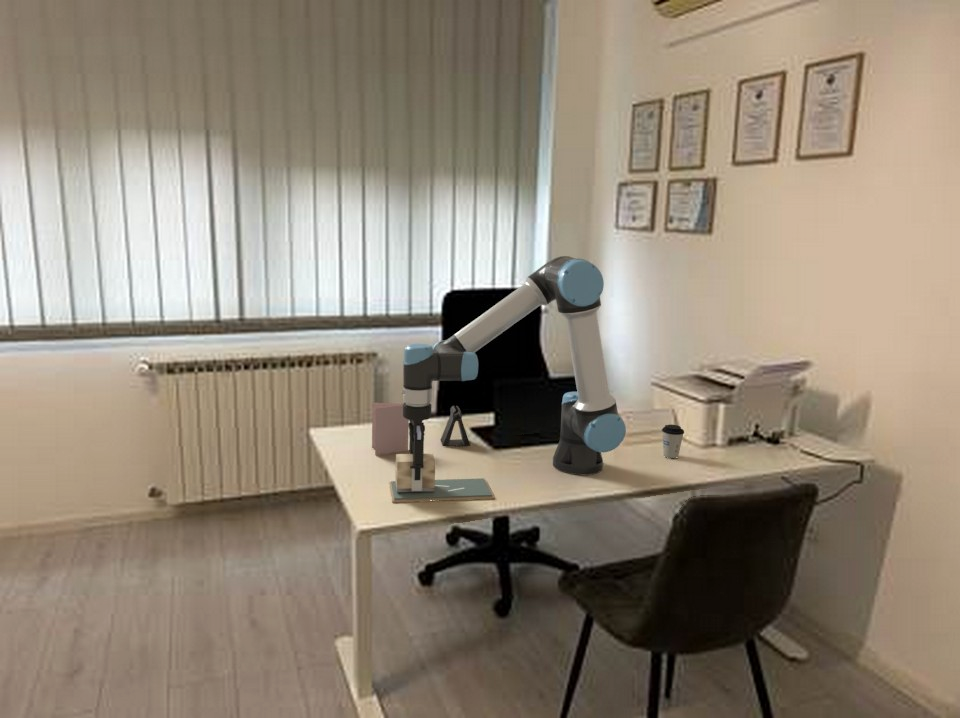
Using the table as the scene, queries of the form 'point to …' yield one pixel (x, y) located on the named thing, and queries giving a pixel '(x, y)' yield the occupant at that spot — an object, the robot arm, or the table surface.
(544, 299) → the robot arm
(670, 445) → the coffee cup
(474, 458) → the table surface
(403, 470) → the eraser block
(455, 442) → the phone stand
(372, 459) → the table surface
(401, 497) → the chalkboard
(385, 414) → the greeting card
